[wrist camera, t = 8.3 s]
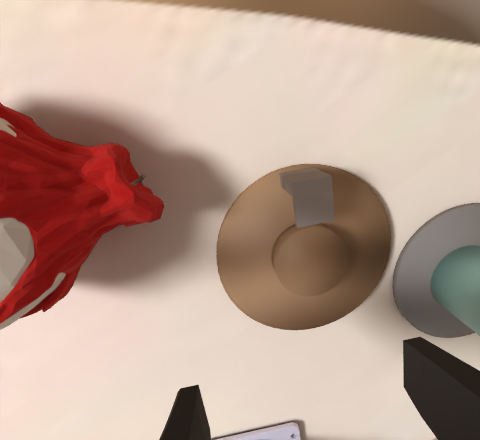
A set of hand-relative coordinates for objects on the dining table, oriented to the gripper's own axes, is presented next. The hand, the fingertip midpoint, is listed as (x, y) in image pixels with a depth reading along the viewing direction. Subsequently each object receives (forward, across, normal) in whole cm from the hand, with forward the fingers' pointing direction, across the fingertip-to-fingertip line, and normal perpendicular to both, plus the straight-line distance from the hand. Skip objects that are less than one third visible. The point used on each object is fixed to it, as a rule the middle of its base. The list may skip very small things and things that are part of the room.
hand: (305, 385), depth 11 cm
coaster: (+10, -14, +4) cm, 18 cm away
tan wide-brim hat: (+10, -3, 0) cm, 11 cm away
